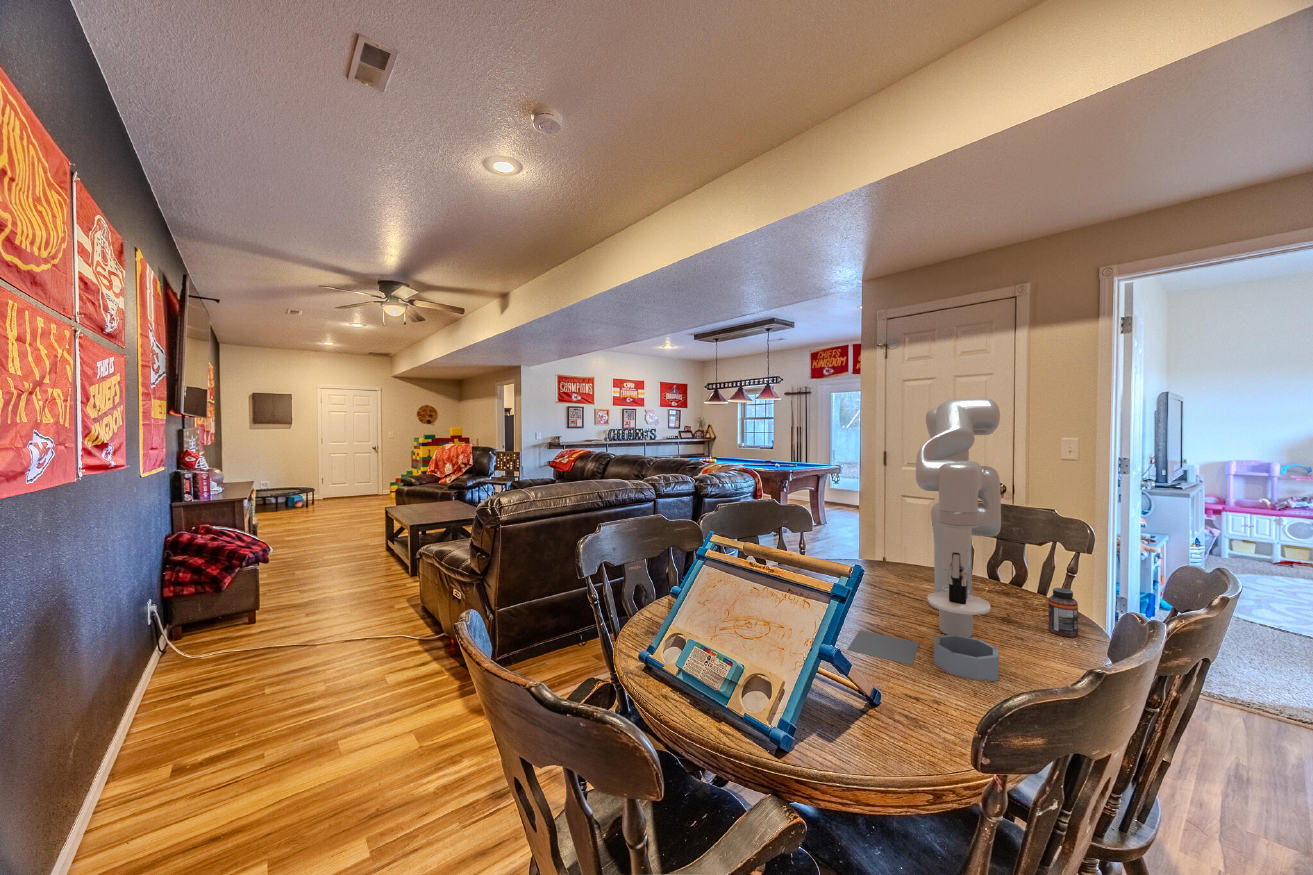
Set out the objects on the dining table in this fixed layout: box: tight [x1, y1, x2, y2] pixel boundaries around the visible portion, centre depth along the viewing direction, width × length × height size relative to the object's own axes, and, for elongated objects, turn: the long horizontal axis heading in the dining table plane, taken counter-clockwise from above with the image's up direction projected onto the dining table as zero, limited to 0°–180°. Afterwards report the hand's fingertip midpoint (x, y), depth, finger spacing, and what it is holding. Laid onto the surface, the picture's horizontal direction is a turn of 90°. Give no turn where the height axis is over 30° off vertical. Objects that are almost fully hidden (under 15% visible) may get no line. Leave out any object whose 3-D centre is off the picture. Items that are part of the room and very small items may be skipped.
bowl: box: [933, 634, 1000, 683], centre depth 110 cm, size 12×12×5 cm
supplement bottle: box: [1047, 587, 1079, 638], centre depth 128 cm, size 6×6×11 cm
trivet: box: [846, 629, 921, 666], centre depth 120 cm, size 14×14×1 cm
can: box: [938, 586, 974, 638], centre depth 128 cm, size 8×8×12 cm
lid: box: [927, 574, 991, 616], centre depth 111 cm, size 12×12×7 cm
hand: (958, 599), depth 111 cm, fingers closed on lid, 3 cm apart
